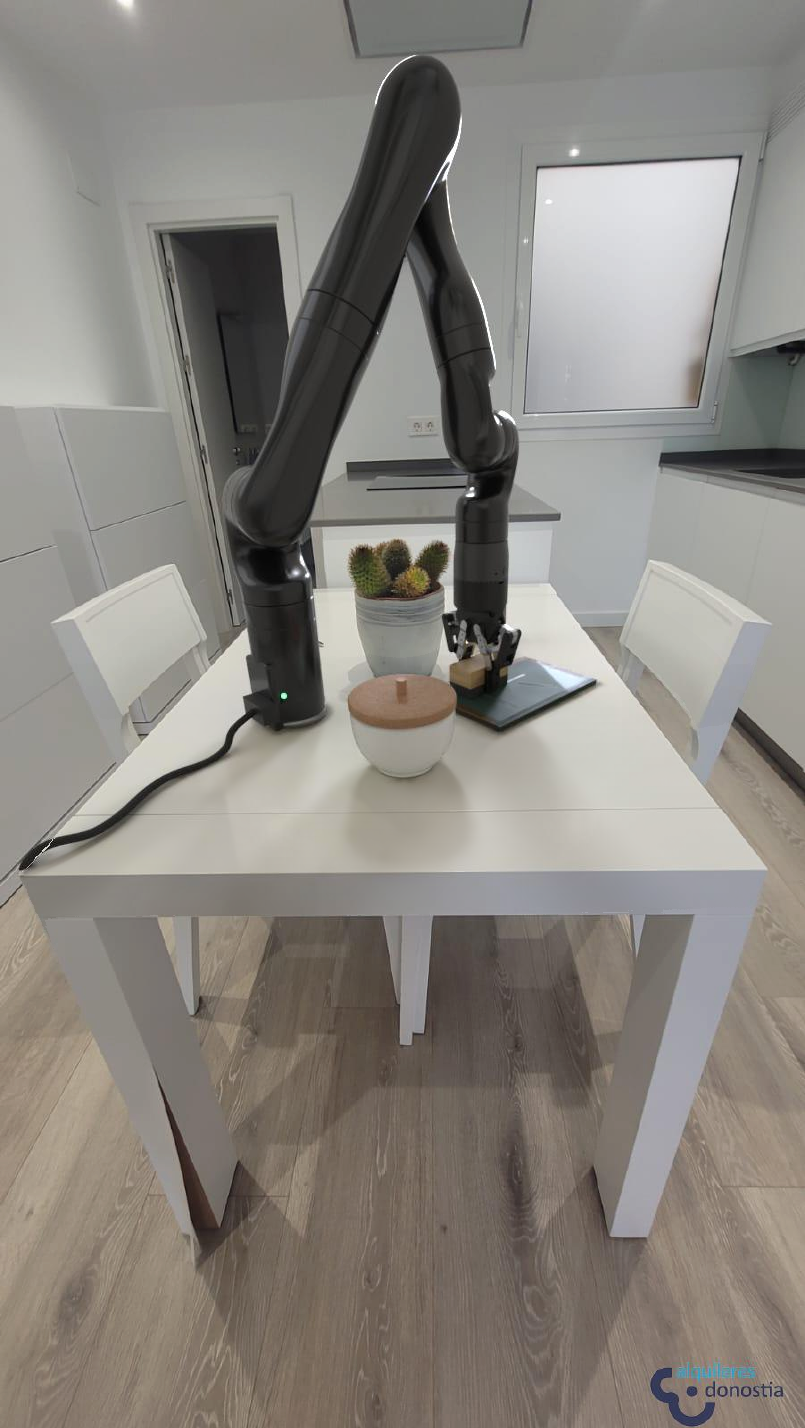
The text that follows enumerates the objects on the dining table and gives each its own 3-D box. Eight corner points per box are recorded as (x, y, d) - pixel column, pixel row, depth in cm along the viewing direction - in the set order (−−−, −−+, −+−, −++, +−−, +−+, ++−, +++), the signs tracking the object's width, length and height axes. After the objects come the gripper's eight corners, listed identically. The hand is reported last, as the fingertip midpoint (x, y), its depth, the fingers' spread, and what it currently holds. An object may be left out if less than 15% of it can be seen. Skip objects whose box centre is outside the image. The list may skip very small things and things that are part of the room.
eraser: (470, 699, 86) (470, 672, 84) (449, 690, 89) (449, 664, 87) (507, 683, 90) (508, 658, 88) (486, 675, 93) (486, 650, 91)
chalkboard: (500, 732, 78) (500, 726, 78) (428, 700, 88) (428, 695, 88) (596, 684, 91) (596, 679, 90) (524, 660, 100) (524, 656, 100)
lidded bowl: (341, 749, 76) (333, 669, 71) (431, 729, 80) (430, 652, 75) (371, 801, 65) (364, 712, 60) (474, 776, 69) (476, 689, 64)
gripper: (425, 569, 85) (428, 679, 92) (501, 586, 75) (497, 709, 82) (463, 560, 89) (462, 666, 96) (539, 575, 79) (532, 693, 86)
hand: (478, 685), depth 89 cm, fingers closed on eraser, 4 cm apart
